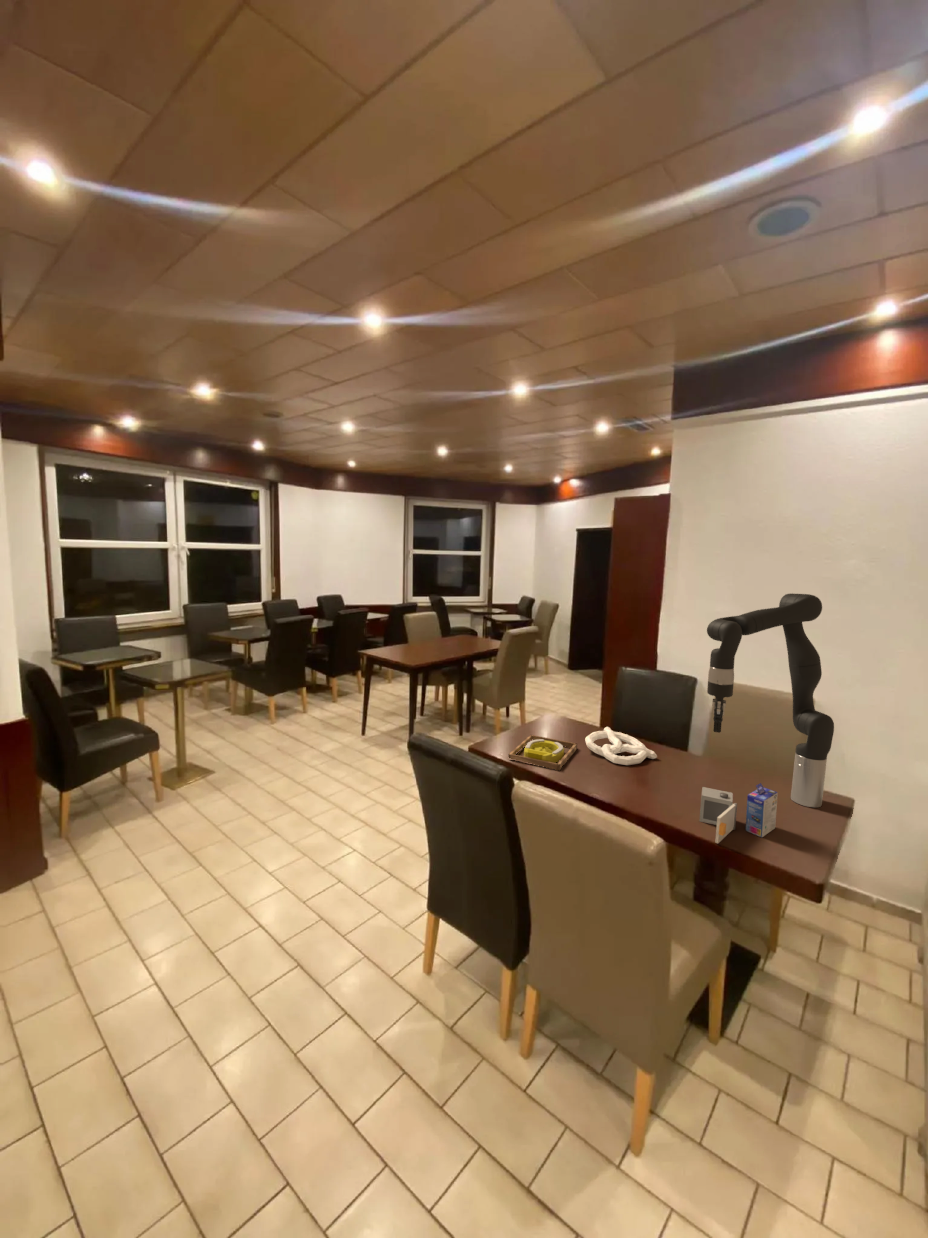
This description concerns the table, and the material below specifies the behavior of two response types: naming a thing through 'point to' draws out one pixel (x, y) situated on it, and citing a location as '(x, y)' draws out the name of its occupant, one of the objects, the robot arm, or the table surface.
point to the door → (726, 822)
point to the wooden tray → (540, 762)
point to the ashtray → (544, 750)
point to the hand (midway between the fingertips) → (717, 731)
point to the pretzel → (619, 747)
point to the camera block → (714, 804)
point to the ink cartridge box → (761, 811)
